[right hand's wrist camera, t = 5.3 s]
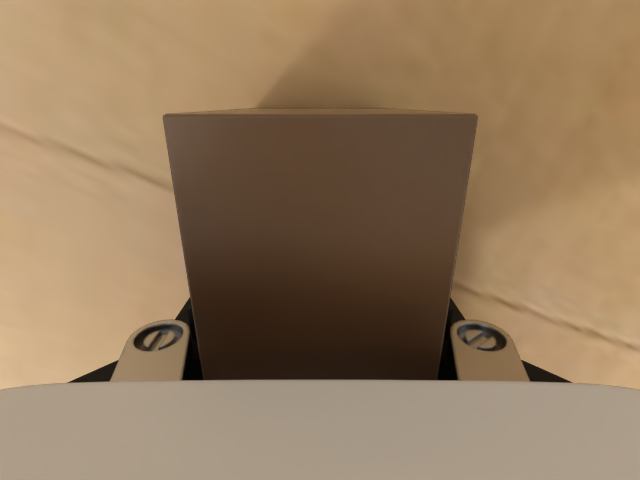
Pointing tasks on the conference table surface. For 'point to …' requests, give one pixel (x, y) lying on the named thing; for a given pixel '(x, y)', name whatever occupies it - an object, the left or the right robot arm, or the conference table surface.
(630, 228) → the conference table surface
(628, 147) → the conference table surface
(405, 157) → the bar
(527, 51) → the conference table surface
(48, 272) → the conference table surface
